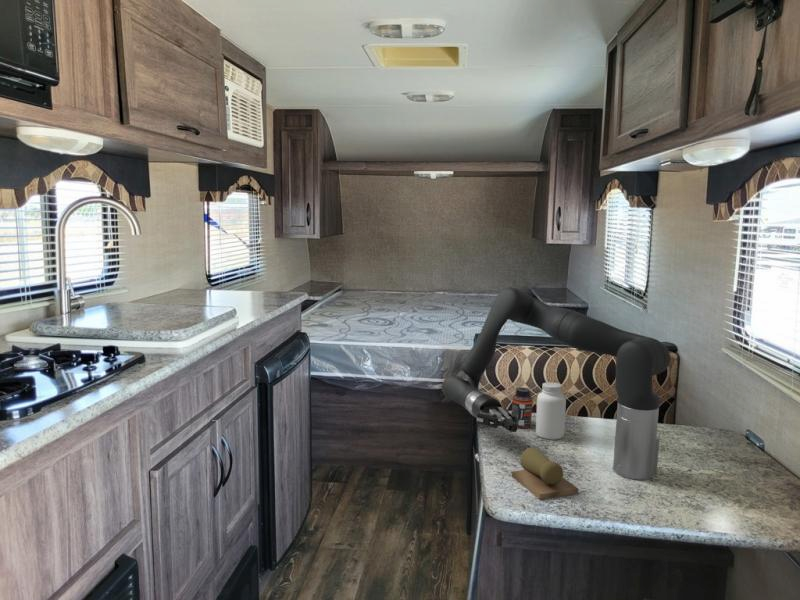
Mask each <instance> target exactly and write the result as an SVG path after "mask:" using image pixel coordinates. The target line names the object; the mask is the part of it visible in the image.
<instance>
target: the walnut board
mask: <svg viewBox="0 0 800 600" xmlns="http://www.w3.org/2000/svg"><path fill="white" fill-rule="evenodd" d="M511 477H512V478H513V479H514V480H516V481H517V482H518V484H519V483H520V484H521V486H522V487H524V488H525V489H526V490H528V491H529V493H531V494H532V495H534V496H535V498H537V499H538V500H545V499H550V498H556V497H558V498H559V497H563V496H564V497H565V496H569V495H575V494H578V493H579V488H578V487H577V486H576V485H574V484H573V483H571V482H570V481H569V480H567V479H566V478H565V477H563V478H562V480H561V481H560V482H559V483H557V484H555V485H549V484H547V483H545V482H544V481H543V480H542V478H541V477H540V476H537V475H535V474H533V473H531V472H529V471H527V470H524V469H520V470H519V469H518V470H514V471H511Z"/></svg>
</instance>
